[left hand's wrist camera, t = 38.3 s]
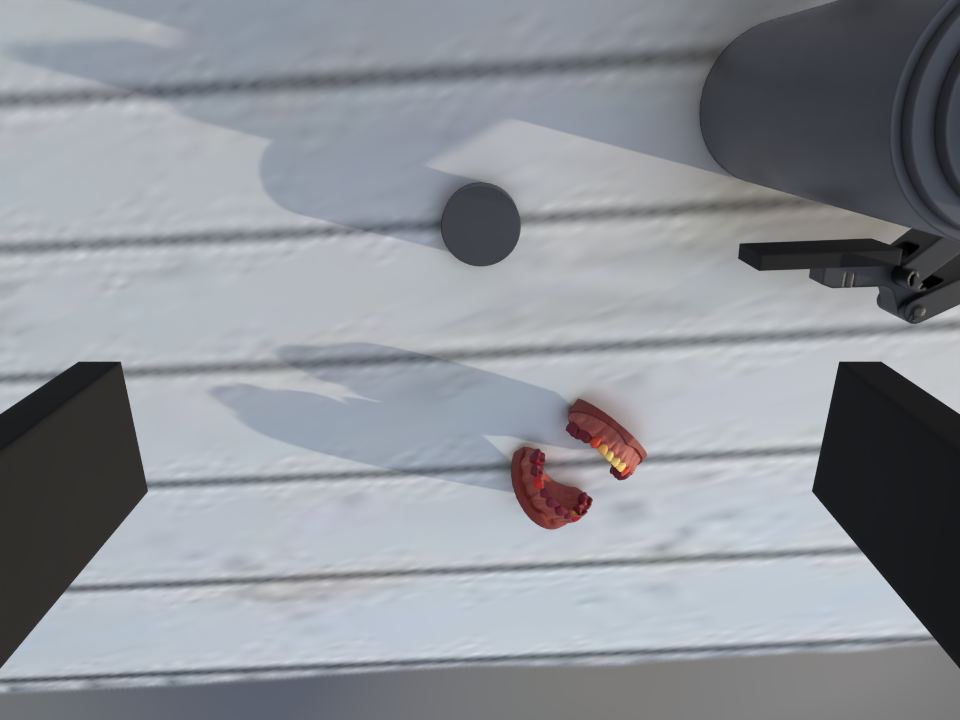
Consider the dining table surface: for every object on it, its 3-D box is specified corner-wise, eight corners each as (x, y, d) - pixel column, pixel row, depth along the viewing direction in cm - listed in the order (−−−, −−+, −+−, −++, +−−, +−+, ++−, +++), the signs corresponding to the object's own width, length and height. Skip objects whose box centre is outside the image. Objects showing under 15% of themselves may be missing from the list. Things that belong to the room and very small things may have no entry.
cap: (528, 195, 38) (531, 199, 36) (505, 267, 39) (506, 275, 37) (454, 172, 37) (453, 176, 35) (434, 246, 39) (432, 253, 37)
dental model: (667, 475, 39) (563, 555, 41) (652, 442, 43) (557, 517, 45) (603, 410, 38) (499, 496, 40) (594, 382, 42) (499, 462, 44)
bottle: (698, 191, 38) (986, 304, 16) (700, 27, 35) (1051, -98, 13) (849, 175, 37) (1346, 269, 16) (863, 8, 34) (1493, -152, 13)
